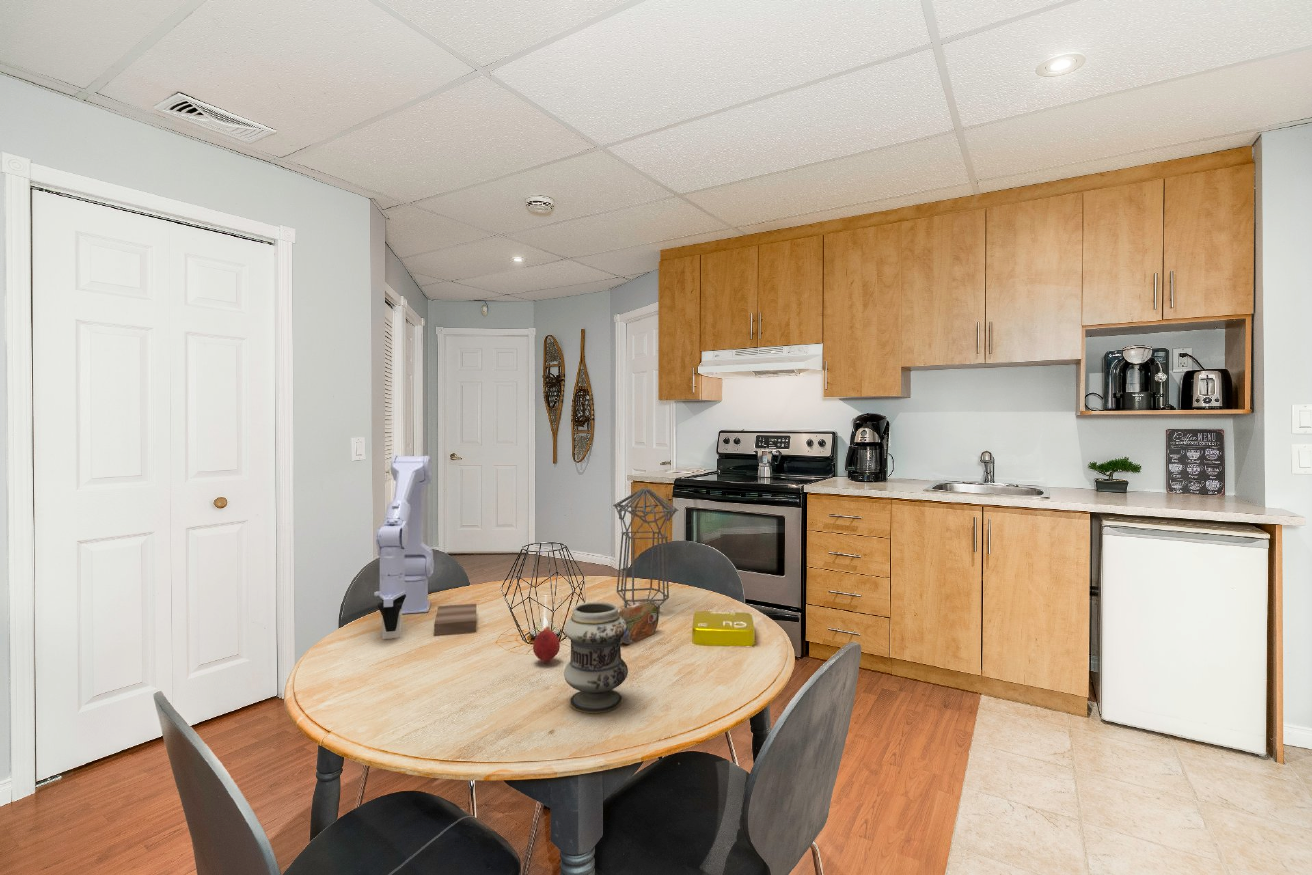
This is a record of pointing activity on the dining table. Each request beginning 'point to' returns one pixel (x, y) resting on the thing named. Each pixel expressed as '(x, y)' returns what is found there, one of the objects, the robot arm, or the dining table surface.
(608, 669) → the apothecary jar
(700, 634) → the element tile
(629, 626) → the tin
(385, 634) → the block
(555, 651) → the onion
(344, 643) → the dining table surface
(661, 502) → the geometric lantern
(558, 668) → the dining table surface
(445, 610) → the plinth
